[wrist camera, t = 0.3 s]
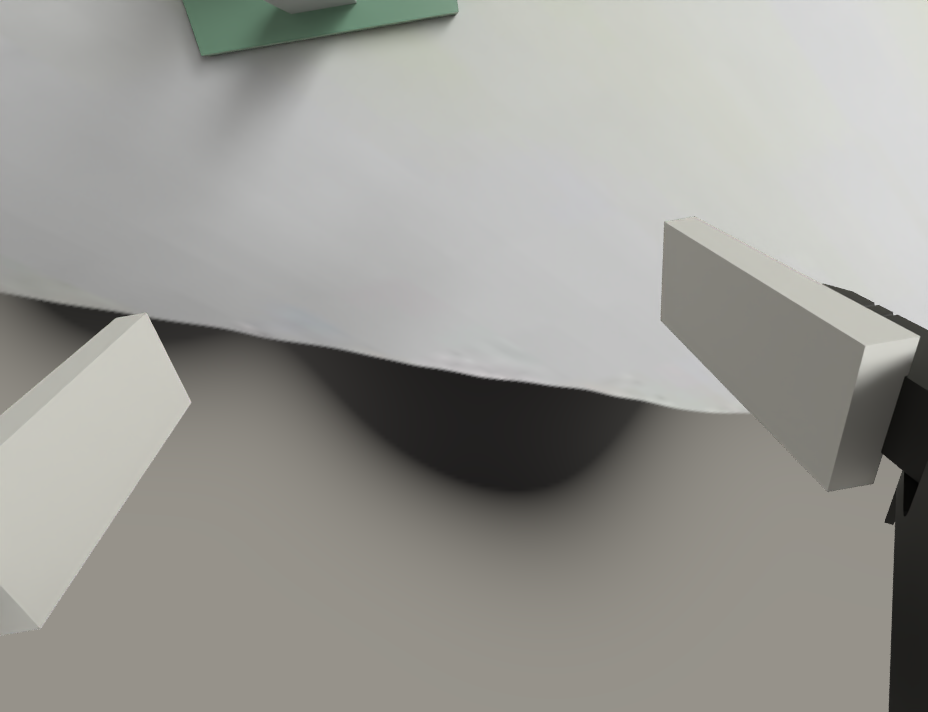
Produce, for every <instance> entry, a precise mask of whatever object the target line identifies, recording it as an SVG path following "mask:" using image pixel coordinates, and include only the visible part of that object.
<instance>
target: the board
mask: <svg viewBox="0 0 928 712" xmlns="http://www.w3.org/2000/svg"><path fill="white" fill-rule="evenodd" d="M183 3H184V6H185V9H186V12H187V15H188V18H189V21H190V23H191V26H192V29H193V32H194V35H195V38H196V41H197V44H198V47H199V50H200V53H201V56H213V55H218V54H224V53H230V52H236V51H242V50H248V49H254V48H260V47H265V46H271V45H277V44H283V43H289V42H295V41H301V40H307V39H313V38H318V37H324V36H330V35H336V34H342V33H348V32H354V31H360V30H365V29H371V28H377V27H383V26H389V25H395V24H401V23H407V22H412V21H418V20H424V19H430V18H436V17H442V16H448V15H454V14H457V13H458V4H457V0H183Z"/></svg>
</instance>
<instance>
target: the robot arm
mask: <svg viewBox="0 0 928 712" xmlns="http://www.w3.org/2000/svg"><path fill="white" fill-rule="evenodd" d="M661 321H662V322H663V323H664V324H665V325H666V326H667V327H668V329H669V330H670V331H671V332H672V333H673V334H674V335H675V336H676V337H677V338H678V339H679V340H680V341H681V342H682V343H683V344H684V345H685V346H686V347H687V348H688V349H689V350H690V351H691V352H692V353H693V354H694V355H695V356H696V357H697V358H698V359H699V360H700V361H701V362H702V364H703V365H704V366H705V367H706V368H707V369H708V370H709V371H710V372H711V373H712V374H713V375H714V376H715V377H716V378H717V379H718V380H719V381H720V382H721V383H722V384H723V385H724V386H725V387H726V388H727V389H728V390H729V391H730V392H731V393H732V394H733V395H734V396H735V397H736V398H737V400H738V401H739V402H740V403H741V404H742V405H743V406H744V407H745V408H746V409H747V410H748V411H749V412H750V413H751V414H752V415H753V416H754V417H755V418H756V419H757V420H758V421H759V422H760V423H761V424H762V425H763V426H764V427H765V428H766V429H767V430H768V431H769V432H770V433H771V434H772V435H773V437H774V438H775V439H776V440H778V442H779V443H780V444H781V445H782V446H783V447H784V448H785V449H786V450H787V451H788V452H789V453H790V454H791V455H792V456H793V457H794V458H795V459H796V460H797V461H798V462H799V463H800V464H801V465H802V466H803V467H804V468H805V469H806V470H807V472H808V473H809V474H811V476H812V477H813V478H814V479H815V480H816V481H817V482H818V483H819V484H820V485H821V486H822V487H823V488H824V489H825V490H826V491H827V492H829V491H835V490H840V489H846V488H852V487H857V486H864V485H869V484H873V483H874V480H875V477H876V474H877V471H878V467H879V464H880V461H881V458H882V455H885V456H886V457H887V458H888V459H890V460H891V461H892V462H893V463H894V464H896V465H897V466H898V467H899V468H900V469H902V470H903V471H902V473H901V476H900V479H899V482H898V485H897V488H896V491H895V494H894V496H893V499H892V502H891V505H890V508H889V511H888V514H887V516H886V519H885V523H889V524H892V525H893V524H894V522H895V543H894V571H893V572H894V573H893V600H892V631H891V660H890V689H889V712H928V330H927V329H925V328H923V327H921V326H919V325H917V324H915V323H913V322H911V321H909V320H907V319H905V318H903V317H901V316H899V315H893V312H891V311H889V310H887V309H886V308H884V307H882V306H880V305H876V306H875V305H874V302H872V301H870V300H868V299H866V298H864V297H862V296H860V295H858V294H856V293H854V292H852V291H849V290H845V289H841V288H838V287H834V286H830V285H827V284H821V283H819V282H817V281H815V280H813V279H811V278H810V277H808V276H806V275H804V274H802V273H800V272H798V271H796V270H795V269H793V268H791V267H789V266H787V265H785V264H783V263H781V262H779V261H778V260H776V259H774V258H772V257H770V256H768V255H766V254H764V253H763V252H761V251H759V250H757V249H755V248H753V247H751V246H749V245H748V244H746V243H744V242H742V241H740V240H738V239H736V238H734V237H732V236H731V235H729V234H727V233H725V232H723V231H721V230H719V229H717V228H716V227H714V226H712V225H710V224H708V223H706V222H704V221H702V220H701V219H699V218H697V217H695V216H694V217H688V218H682V219H677V220H671V221H665V222H664V242H663V268H662V295H661ZM190 404H191V400H190V399H189V396H188V395H187V392H186V391H185V388H184V386H183V385H182V382H181V381H180V379H179V377H178V375H177V373H176V371H175V369H174V367H173V365H172V363H171V361H170V359H169V357H168V355H167V353H166V351H165V349H164V347H163V345H162V343H161V341H160V339H159V337H158V335H157V333H156V331H155V329H154V327H153V325H152V323H151V321H150V319H149V317H148V315H147V313H141V314H136V315H130V316H124V317H119V318H116V319H114V320H113V321H112V322H111V323H110V324H108V325H107V326H106V327H105V328H104V329H103V330H101V331H100V332H99V333H98V334H97V335H95V336H94V337H93V338H92V339H91V340H89V341H88V342H87V343H86V344H85V345H84V346H82V347H81V348H80V349H79V350H77V351H76V352H75V353H74V354H73V355H71V357H69V358H68V359H67V360H66V361H64V362H63V363H62V364H61V365H60V366H58V367H57V368H56V369H55V370H54V371H52V372H51V373H50V374H49V375H48V376H47V377H45V378H44V379H43V380H42V381H41V382H39V383H38V384H37V385H36V386H34V387H33V388H32V389H31V390H30V391H29V392H27V393H26V394H25V395H24V396H23V397H21V398H20V399H19V400H18V401H17V402H16V403H14V404H13V405H12V406H11V407H10V408H8V409H7V410H6V411H5V412H3V413H2V414H1V415H0V636H2V635H8V634H13V633H19V632H25V631H31V630H37V629H41V627H42V626H43V624H44V623H45V621H46V620H47V618H48V617H49V615H50V614H51V612H52V611H53V609H54V608H55V606H56V605H57V603H58V602H59V600H60V599H61V597H62V596H63V594H64V593H65V591H66V590H67V588H68V587H69V585H70V584H71V582H72V581H73V579H74V578H75V576H76V575H77V573H78V572H79V570H80V569H81V567H82V566H83V564H84V563H85V561H86V560H87V558H88V557H89V555H90V554H91V552H92V551H93V549H94V548H95V546H96V545H97V543H98V542H99V540H100V539H101V537H102V536H103V534H104V533H105V531H106V530H107V528H108V527H109V525H110V524H111V522H112V521H113V519H114V518H115V516H116V515H117V513H118V512H119V510H120V509H121V507H122V506H123V504H124V503H125V501H126V500H127V498H128V497H129V495H130V494H131V492H132V491H133V489H134V488H135V486H136V485H137V483H138V482H139V480H140V479H141V477H142V476H143V474H144V473H145V471H146V470H147V468H148V467H149V465H150V464H151V462H152V461H153V459H154V458H155V456H156V455H157V453H158V452H159V450H160V449H161V447H162V446H163V444H164V443H165V441H166V440H167V438H168V437H169V435H170V434H171V432H172V431H173V429H174V428H175V426H176V425H177V423H178V422H179V420H180V419H181V417H182V416H183V414H184V413H185V411H186V410H187V408H188V407H189V405H190Z"/></svg>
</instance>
